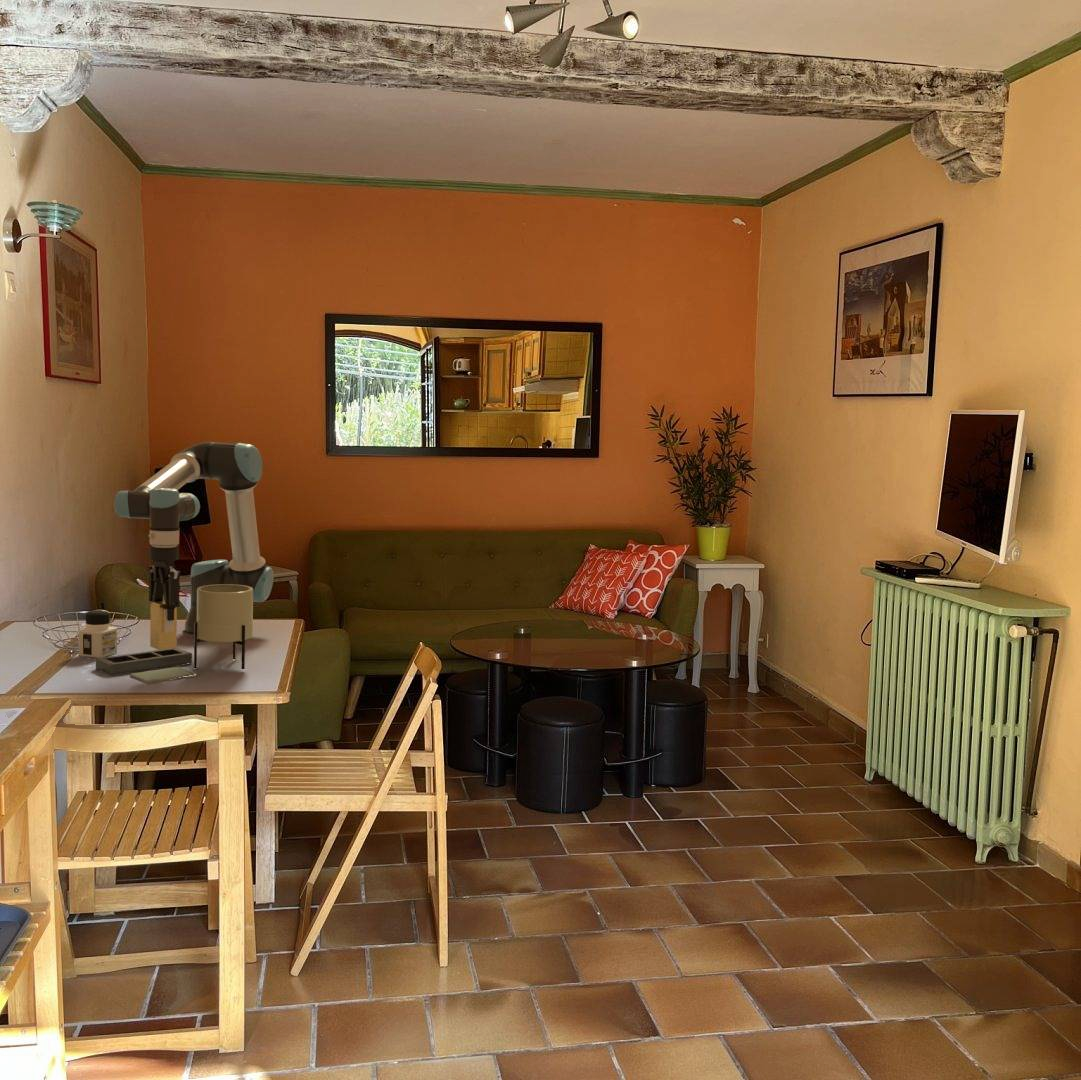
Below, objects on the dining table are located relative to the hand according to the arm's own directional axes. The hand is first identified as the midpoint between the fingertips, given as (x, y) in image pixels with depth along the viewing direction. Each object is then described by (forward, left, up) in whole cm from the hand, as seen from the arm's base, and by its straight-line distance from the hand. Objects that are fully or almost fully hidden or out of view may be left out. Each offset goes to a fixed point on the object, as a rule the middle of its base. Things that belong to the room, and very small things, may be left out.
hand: (163, 630), depth 288 cm
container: (+3, -34, -13) cm, 37 cm away
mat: (0, 0, -13) cm, 13 cm away
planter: (-18, +1, -13) cm, 22 cm away
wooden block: (0, 0, -5) cm, 5 cm away
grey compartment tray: (-1, -13, -13) cm, 18 cm away
